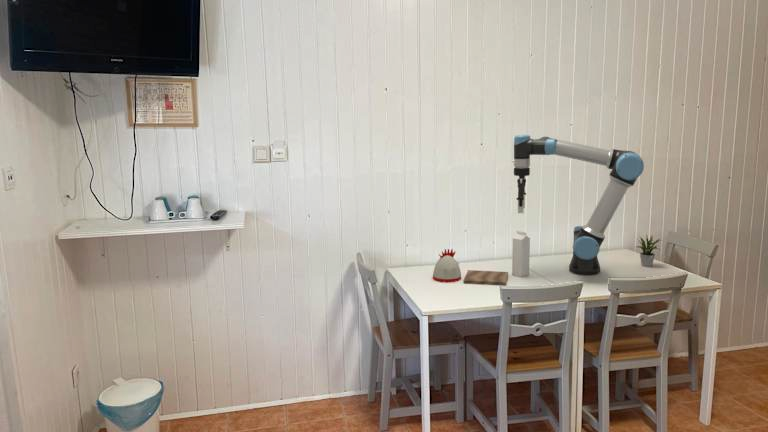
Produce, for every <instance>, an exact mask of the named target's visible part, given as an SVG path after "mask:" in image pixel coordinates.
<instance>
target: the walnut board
mask: <svg viewBox="0 0 768 432" xmlns="http://www.w3.org/2000/svg"><path fill="white" fill-rule="evenodd" d="M508 278H509V271H492V270H475V269H474V270H471V269H469V270H467V272H466V274H465V276H464V279H463V282H462V283H463V284H468V285H469V284H470V285H471V284H472V285H488V286H489V285H491V286H507V283H506V282H508Z"/></svg>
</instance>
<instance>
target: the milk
mask: <svg viewBox="0 0 768 432" xmlns="http://www.w3.org/2000/svg"><path fill="white" fill-rule="evenodd" d="M530 244H531V238H530V237H529V236H527V232H525V231H520V230H517V231H516V234H515V235H514V236H513V237H512V250H511V251H512V254H511V255H512V257H511V258H512V259H511V260H512V262H511V263H512V264H511V266H512V267H511V268H512V269H511V275H512V276H515V277H518V276H519V278H523V277H528V276H529V275H530V253H531V252H530V250H531V245H530Z"/></svg>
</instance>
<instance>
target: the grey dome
mask: <svg viewBox="0 0 768 432" xmlns="http://www.w3.org/2000/svg"><path fill="white" fill-rule="evenodd" d="M438 255H439V257H440V258H439V259H438V260H437V261H436V263H435V265H434V268H433V269H434V270H433V271H432V272H433V273H432V279H433V281H436V282H438V283H457V282H459V281H461V280H462V272H461V269H460V263H458V261H457V260H456V259H455V258H454V256H455V255H456V250H455V251H453V248H451V249H449V248H447V249H446V248H444V251H441V254H440V253H438Z"/></svg>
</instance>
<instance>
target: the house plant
mask: <svg viewBox="0 0 768 432" xmlns="http://www.w3.org/2000/svg"><path fill="white" fill-rule="evenodd" d="M645 236H646V237H645V239H643V238H642V237H641V236H640V235H638V237H639V239H640V240H639V239H638V238H636V240H637V241H638V243H640V244H641V245H637V246H635V248H639V249H641V250H642V252H640V253H639V258H640V265H641V267H645V268H646V267H647V268H651V267H653V263H654V259H655V256H656V254H655V252H654V251H656V250H658V251H661V248H660V247H659V246H660V245H657V244H658V243H659V242H661V241H662V239H663V238H658V239H657V240H655V241H654V242H653V238H654V236H653V235H651V236H650V238H648V235H647V234H646V235H645ZM645 240H646V241H645ZM652 251H653V252H652Z"/></svg>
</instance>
